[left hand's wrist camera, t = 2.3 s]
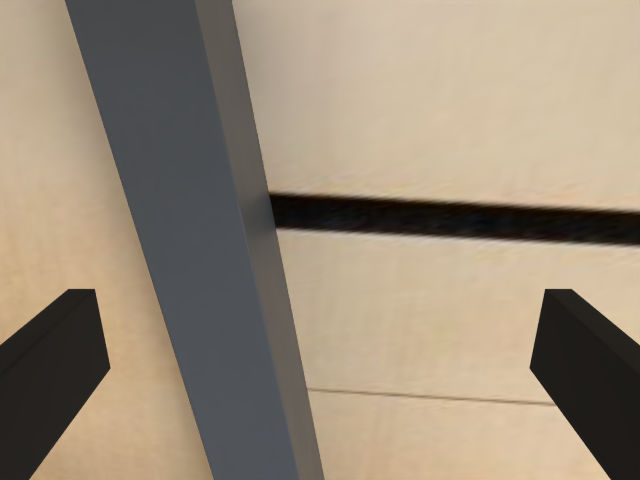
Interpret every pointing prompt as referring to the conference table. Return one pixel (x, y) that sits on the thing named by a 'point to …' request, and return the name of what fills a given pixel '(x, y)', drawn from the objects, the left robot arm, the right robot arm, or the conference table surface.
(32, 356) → the left robot arm
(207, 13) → the post
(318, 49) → the conference table surface
